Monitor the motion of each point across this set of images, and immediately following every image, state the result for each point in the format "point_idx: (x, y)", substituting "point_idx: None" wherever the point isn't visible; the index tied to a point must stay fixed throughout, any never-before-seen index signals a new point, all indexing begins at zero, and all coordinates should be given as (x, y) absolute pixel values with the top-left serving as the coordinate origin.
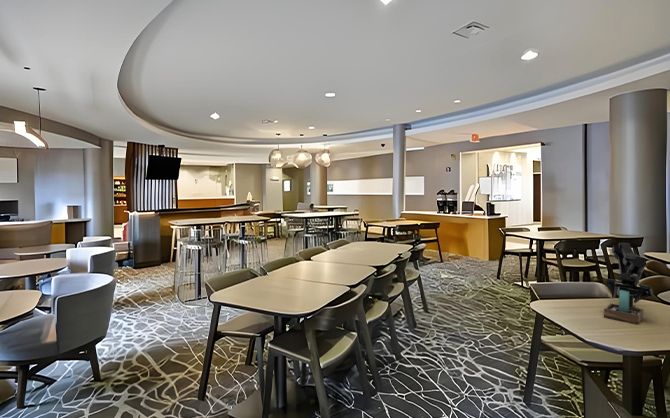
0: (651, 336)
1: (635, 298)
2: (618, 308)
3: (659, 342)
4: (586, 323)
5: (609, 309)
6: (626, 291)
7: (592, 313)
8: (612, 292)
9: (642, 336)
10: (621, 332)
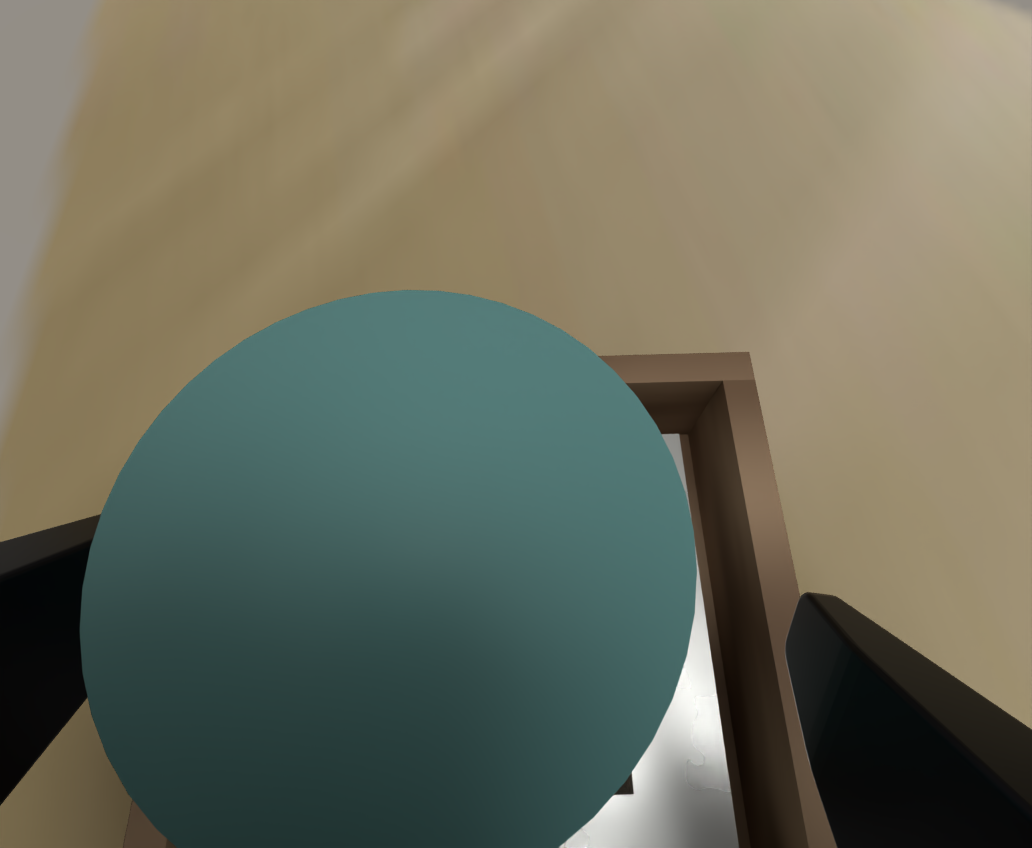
0: (167, 144)
1: (37, 558)
2: (618, 801)
3: (121, 52)
4: (723, 76)
5: (668, 372)
6: (264, 511)
7: (899, 518)
8: (1008, 732)
9: (242, 91)
10: (408, 66)
